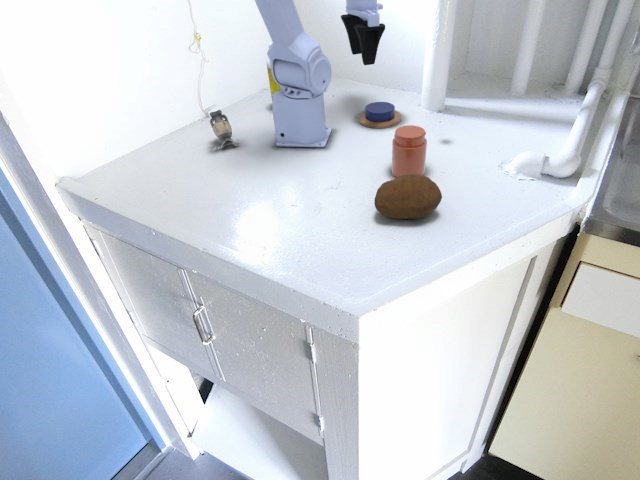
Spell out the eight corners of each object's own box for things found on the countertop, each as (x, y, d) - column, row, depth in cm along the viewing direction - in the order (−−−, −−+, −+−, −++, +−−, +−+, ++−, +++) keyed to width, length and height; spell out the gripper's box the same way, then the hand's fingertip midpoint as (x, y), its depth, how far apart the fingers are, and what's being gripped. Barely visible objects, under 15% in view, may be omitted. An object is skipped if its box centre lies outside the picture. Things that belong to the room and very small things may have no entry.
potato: (370, 205, 72) (370, 168, 68) (432, 199, 73) (435, 161, 69) (378, 229, 68) (378, 191, 63) (444, 222, 68) (448, 183, 64)
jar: (390, 179, 78) (391, 138, 73) (392, 163, 82) (393, 124, 77) (424, 180, 78) (427, 139, 73) (424, 164, 82) (427, 124, 77)
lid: (400, 117, 96) (401, 107, 94) (378, 125, 93) (377, 115, 92) (381, 108, 99) (381, 99, 98) (359, 116, 97) (359, 106, 96)
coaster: (355, 128, 94) (355, 125, 94) (360, 110, 101) (360, 107, 100) (400, 128, 93) (400, 125, 92) (402, 111, 99) (402, 108, 99)
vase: (210, 140, 92) (202, 109, 88) (237, 135, 93) (230, 105, 89) (212, 151, 89) (204, 120, 85) (241, 147, 90) (234, 115, 86)
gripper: (395, -18, 81) (394, 66, 90) (369, -30, 91) (370, 46, 101) (357, -14, 80) (359, 71, 89) (334, -26, 90) (338, 51, 99)
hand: (363, 58), depth 95 cm, fingers open, 7 cm apart
